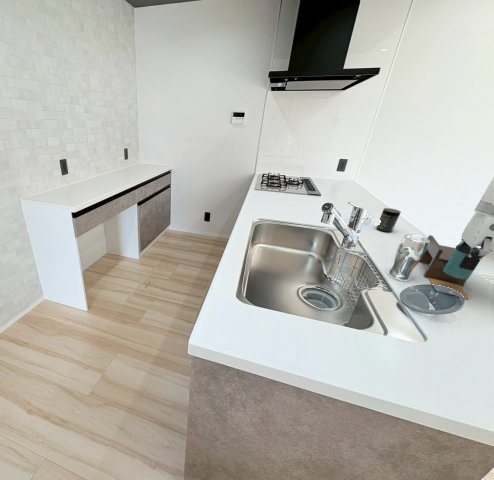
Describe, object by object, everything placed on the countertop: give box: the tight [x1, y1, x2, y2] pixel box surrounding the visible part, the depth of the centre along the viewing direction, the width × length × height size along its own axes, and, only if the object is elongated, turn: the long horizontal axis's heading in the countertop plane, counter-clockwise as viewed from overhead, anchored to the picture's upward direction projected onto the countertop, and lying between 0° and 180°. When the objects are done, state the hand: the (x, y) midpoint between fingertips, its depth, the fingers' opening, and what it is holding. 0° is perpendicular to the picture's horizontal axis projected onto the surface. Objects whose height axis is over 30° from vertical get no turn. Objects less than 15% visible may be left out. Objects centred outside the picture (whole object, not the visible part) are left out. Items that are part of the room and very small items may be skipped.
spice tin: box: [443, 244, 481, 280], centre depth 81 cm, size 6×6×9 cm
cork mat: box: [428, 278, 470, 301], centre depth 85 cm, size 8×8×1 cm
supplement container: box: [375, 207, 402, 234], centre depth 127 cm, size 7×7×10 cm
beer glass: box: [387, 233, 430, 282], centre depth 88 cm, size 7×7×15 cm
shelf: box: [419, 234, 468, 287], centre depth 92 cm, size 10×14×11 cm
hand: (462, 263), depth 81 cm, fingers closed on spice tin, 6 cm apart
